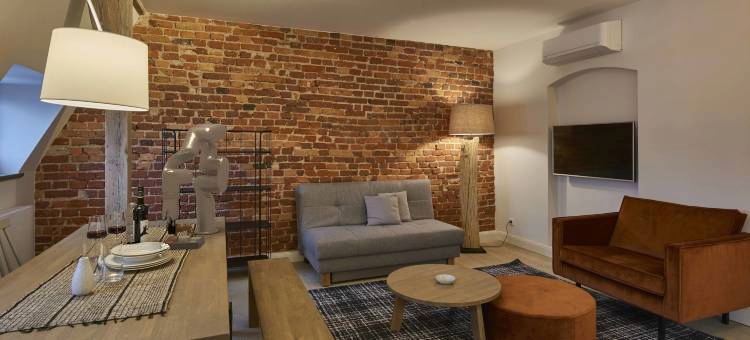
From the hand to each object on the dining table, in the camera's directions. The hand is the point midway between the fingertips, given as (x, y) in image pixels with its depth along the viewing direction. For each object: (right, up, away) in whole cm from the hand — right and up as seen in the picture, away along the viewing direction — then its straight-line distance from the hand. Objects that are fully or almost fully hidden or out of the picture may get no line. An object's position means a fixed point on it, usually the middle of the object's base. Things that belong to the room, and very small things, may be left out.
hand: (171, 234), depth 201 cm
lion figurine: (-4, -5, +19) cm, 20 cm away
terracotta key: (0, -4, +1) cm, 4 cm away
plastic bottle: (-23, -6, +8) cm, 25 cm away
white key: (+5, -4, +2) cm, 7 cm away
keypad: (+5, -6, +1) cm, 8 cm away
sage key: (+10, -5, +3) cm, 12 cm away
